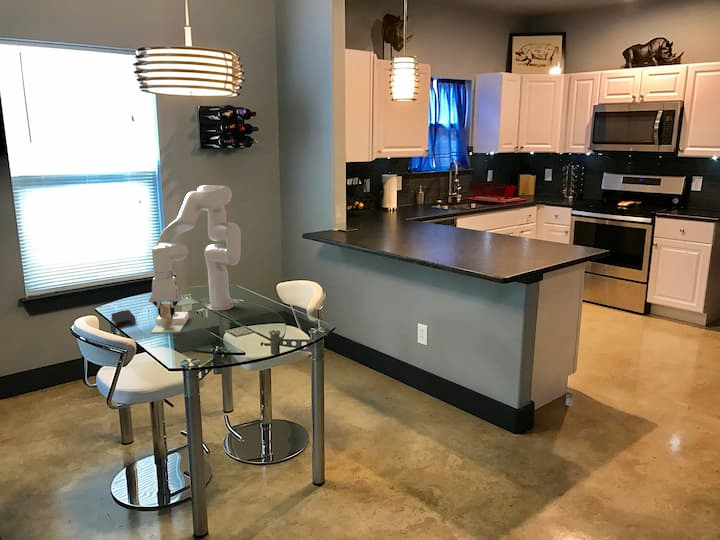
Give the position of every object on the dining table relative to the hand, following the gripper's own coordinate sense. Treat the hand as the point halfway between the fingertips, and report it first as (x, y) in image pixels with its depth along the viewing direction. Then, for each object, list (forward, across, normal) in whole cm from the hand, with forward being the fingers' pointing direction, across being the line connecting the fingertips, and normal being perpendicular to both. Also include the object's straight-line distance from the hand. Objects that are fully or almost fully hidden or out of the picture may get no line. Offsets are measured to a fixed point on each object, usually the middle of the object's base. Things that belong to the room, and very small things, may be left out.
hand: (166, 315), depth 249 cm
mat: (+7, 0, 0) cm, 7 cm away
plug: (+5, 0, 0) cm, 5 cm away
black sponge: (+7, +23, -14) cm, 28 cm away
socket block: (+7, 0, -10) cm, 12 cm away
